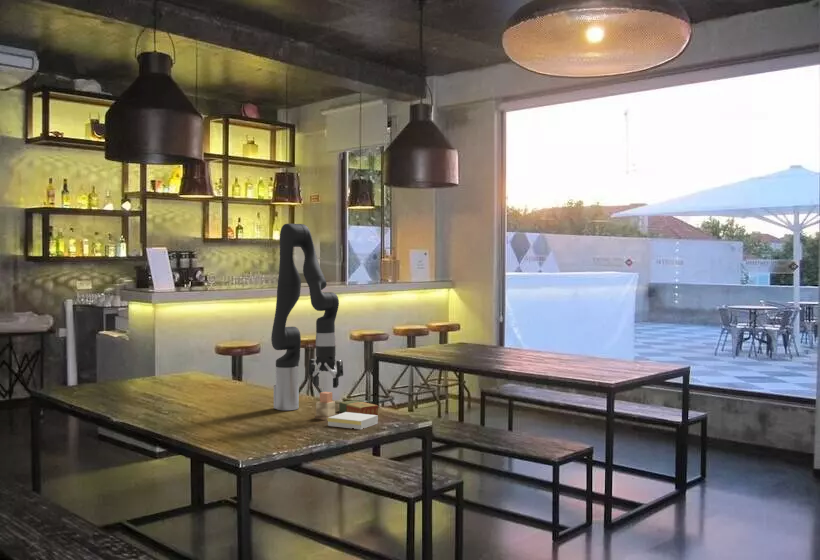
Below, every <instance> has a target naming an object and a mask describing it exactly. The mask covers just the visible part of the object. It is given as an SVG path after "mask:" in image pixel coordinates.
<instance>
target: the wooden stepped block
mask: <svg viewBox="0 0 820 560" xmlns="http://www.w3.org/2000/svg"><path fill="white" fill-rule="evenodd" d="M334 415H337V413H336V400H332V402H329V403H324V402H320V400H319V401H316V403H315V415H314V420H322V421H323V420H324V421H328V417H331V416H334Z"/></svg>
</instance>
